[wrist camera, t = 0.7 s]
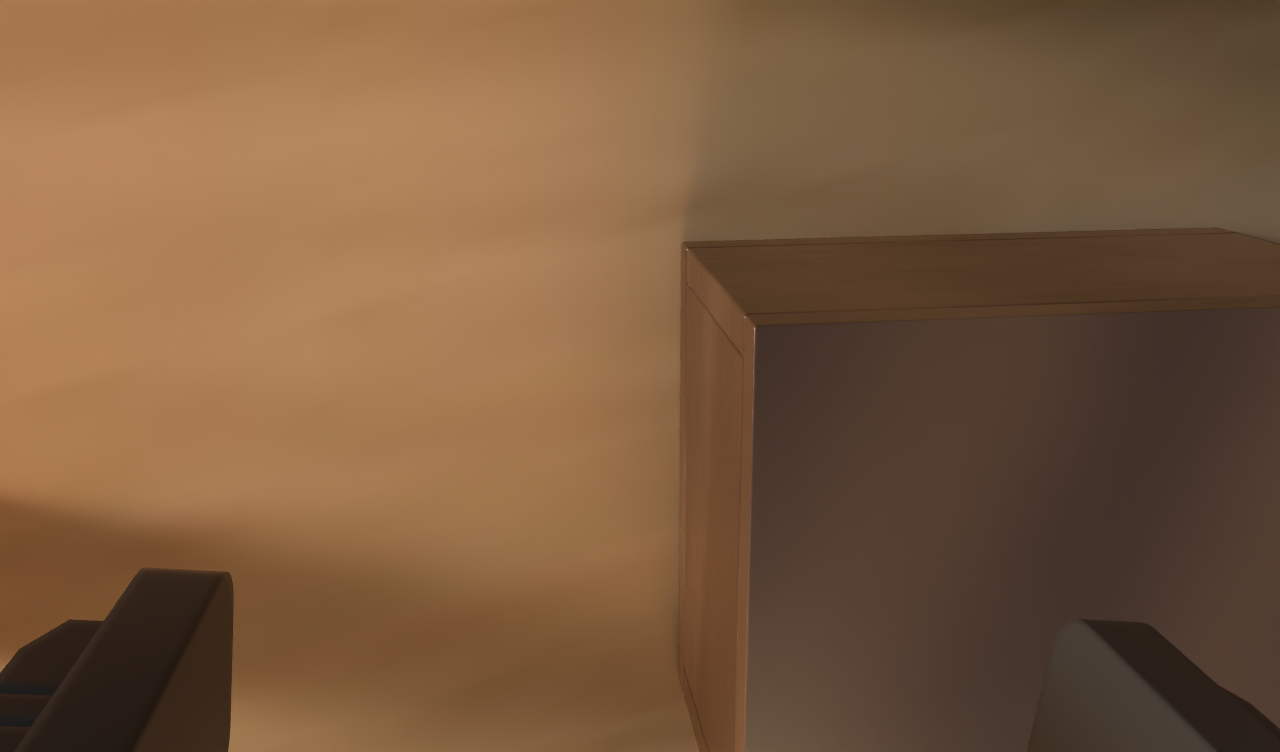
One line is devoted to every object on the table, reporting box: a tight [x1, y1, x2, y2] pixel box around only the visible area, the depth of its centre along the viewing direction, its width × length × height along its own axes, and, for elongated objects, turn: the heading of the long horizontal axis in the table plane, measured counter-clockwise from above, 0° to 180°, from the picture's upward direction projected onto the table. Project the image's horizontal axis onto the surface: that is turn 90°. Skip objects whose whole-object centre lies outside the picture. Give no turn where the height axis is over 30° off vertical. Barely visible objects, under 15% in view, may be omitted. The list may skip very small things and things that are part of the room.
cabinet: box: [679, 228, 1280, 752], centre depth 28 cm, size 15×13×9 cm
